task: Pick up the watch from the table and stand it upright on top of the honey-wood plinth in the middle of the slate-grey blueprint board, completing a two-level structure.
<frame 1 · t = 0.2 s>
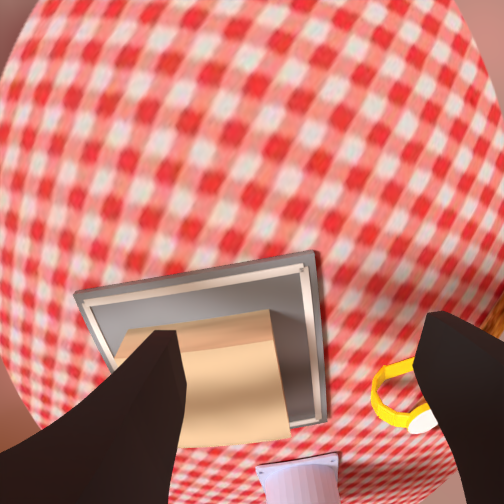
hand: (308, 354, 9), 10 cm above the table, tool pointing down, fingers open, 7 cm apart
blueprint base: (213, 369, 21), on the table
watch: (397, 365, 22), on the table
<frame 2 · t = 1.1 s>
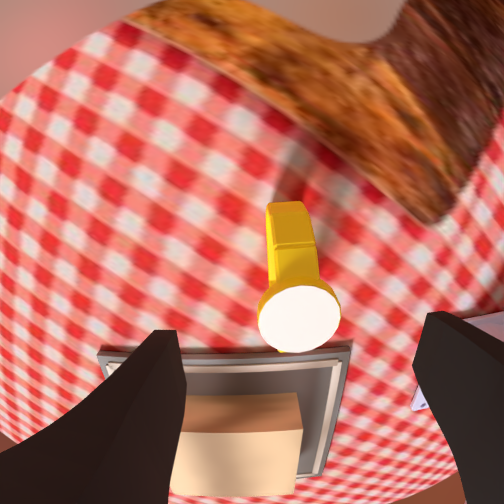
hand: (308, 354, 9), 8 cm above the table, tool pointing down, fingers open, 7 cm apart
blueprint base: (228, 431, 21), on the table
watch: (281, 251, 16), on the table
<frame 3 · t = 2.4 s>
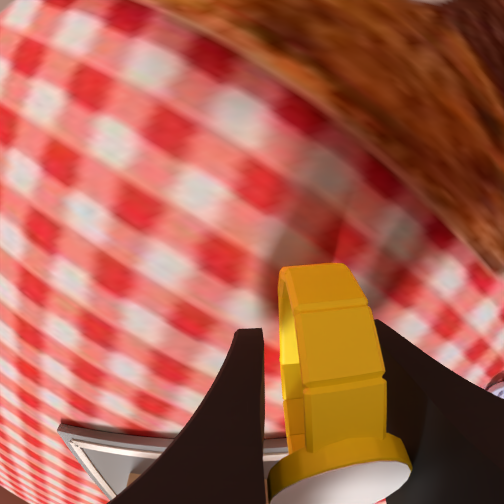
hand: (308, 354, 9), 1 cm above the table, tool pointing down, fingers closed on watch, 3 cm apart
watch: (300, 322, 10), on the table, touching gripper
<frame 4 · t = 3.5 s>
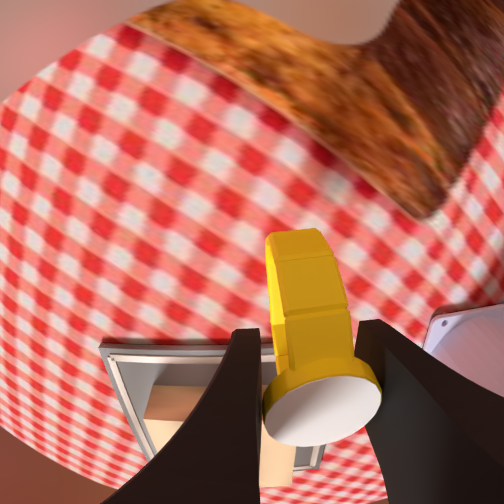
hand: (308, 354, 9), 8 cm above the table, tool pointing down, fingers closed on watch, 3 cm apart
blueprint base: (227, 422, 21), on the table
watch: (286, 286, 12), point 5 cm above the table, touching gripper
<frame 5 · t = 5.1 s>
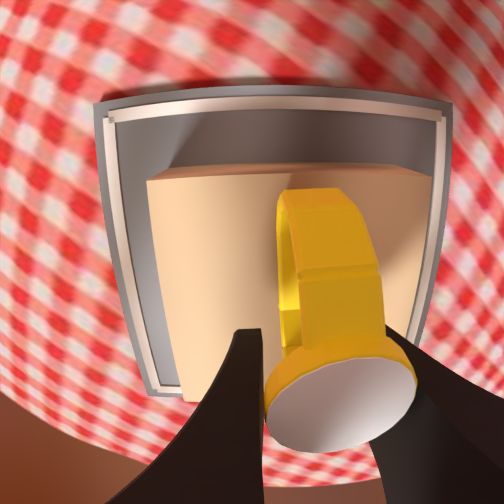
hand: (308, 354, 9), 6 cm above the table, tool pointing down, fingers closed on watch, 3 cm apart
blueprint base: (285, 266, 14), on the table
watch: (298, 266, 10), point 3 cm above the table, touching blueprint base, gripper
when the fingers open (6 cm above the table, at t = 5.1 s): watch stays where it is, resting on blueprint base.
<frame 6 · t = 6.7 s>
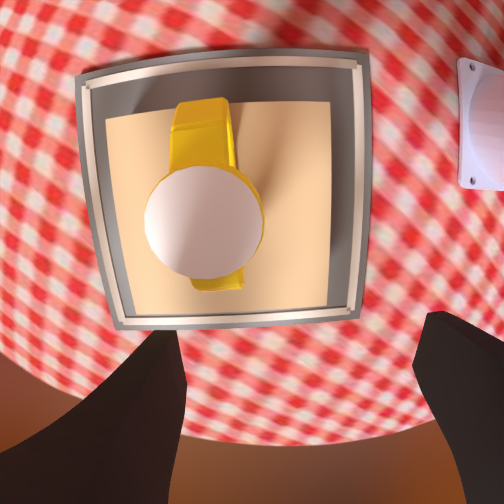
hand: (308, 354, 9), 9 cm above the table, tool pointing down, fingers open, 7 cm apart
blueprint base: (225, 198, 16), on the table
watch: (219, 179, 13), point 3 cm above the table, touching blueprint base
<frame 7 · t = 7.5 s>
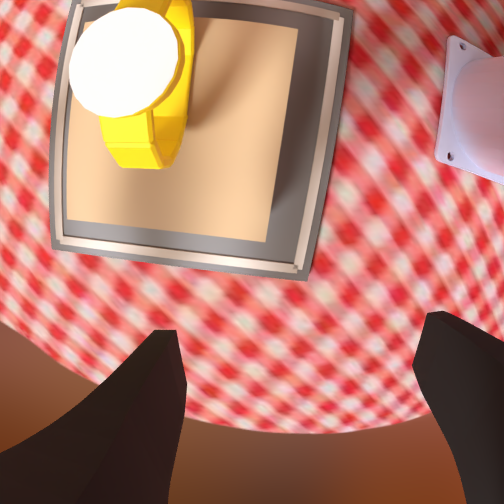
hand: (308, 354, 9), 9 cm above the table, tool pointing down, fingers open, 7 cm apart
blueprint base: (183, 122, 15), on the table
watch: (174, 86, 11), point 3 cm above the table, touching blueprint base
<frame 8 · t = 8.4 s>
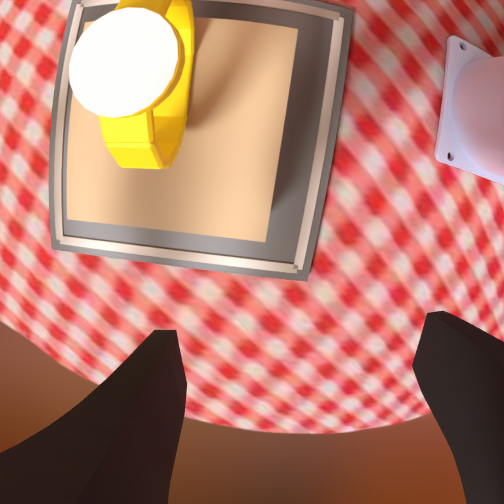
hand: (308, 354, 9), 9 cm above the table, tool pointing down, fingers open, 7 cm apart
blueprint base: (183, 122, 15), on the table
watch: (174, 86, 11), point 3 cm above the table, touching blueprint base
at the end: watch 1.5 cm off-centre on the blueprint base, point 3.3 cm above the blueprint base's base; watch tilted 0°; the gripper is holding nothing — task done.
